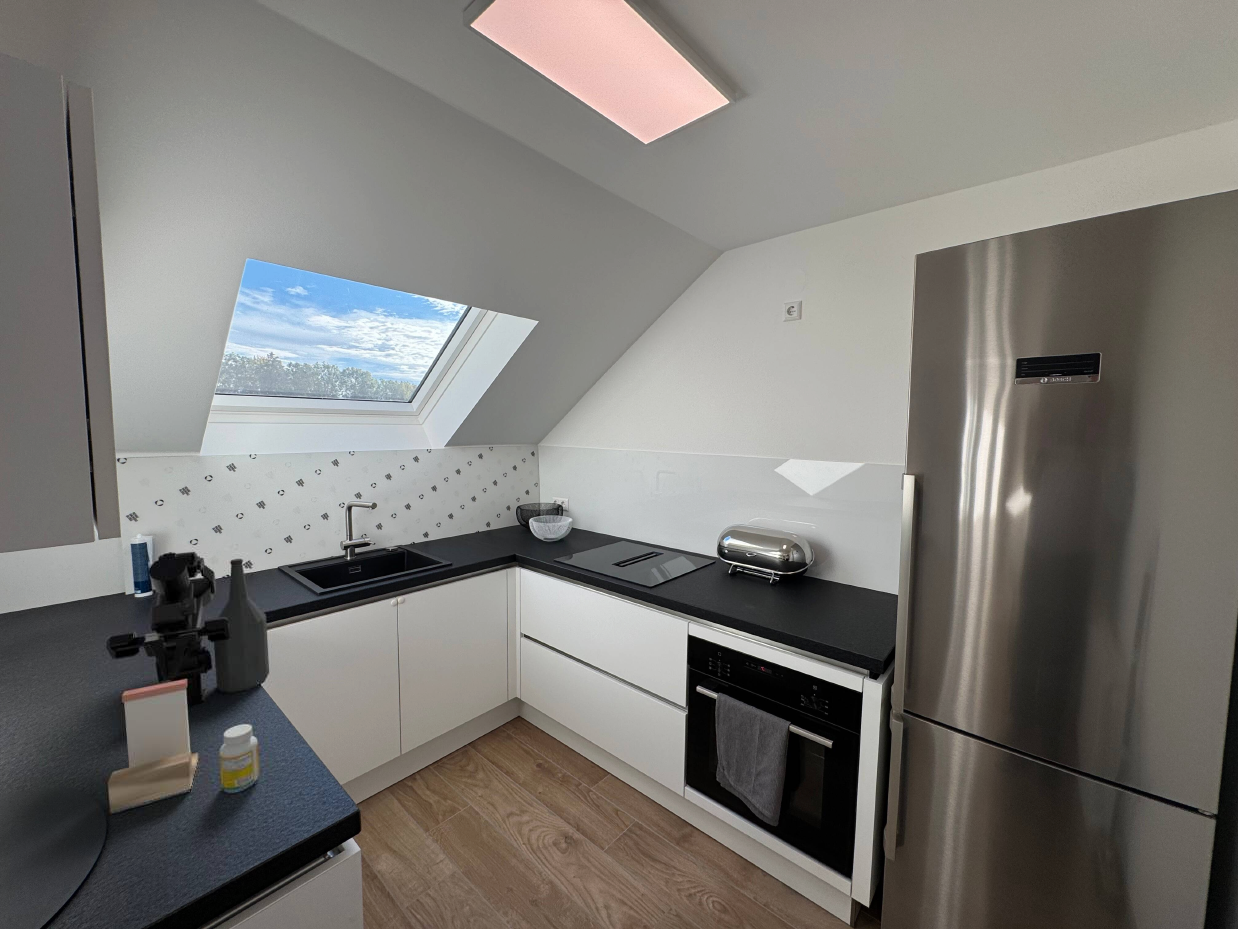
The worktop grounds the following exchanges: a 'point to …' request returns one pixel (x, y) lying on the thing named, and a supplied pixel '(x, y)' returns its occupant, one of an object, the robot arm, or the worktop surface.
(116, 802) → the oak key housing
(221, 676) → the bottle
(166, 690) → the white red-topped panel
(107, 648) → the robot arm
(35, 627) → the worktop surface
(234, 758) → the supplement bottle
